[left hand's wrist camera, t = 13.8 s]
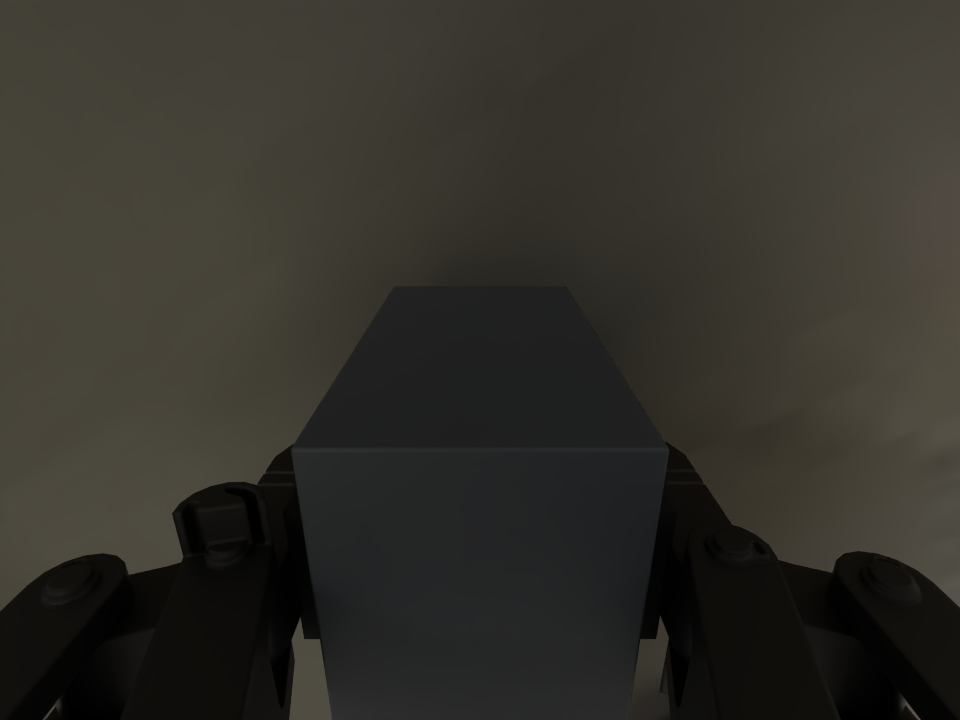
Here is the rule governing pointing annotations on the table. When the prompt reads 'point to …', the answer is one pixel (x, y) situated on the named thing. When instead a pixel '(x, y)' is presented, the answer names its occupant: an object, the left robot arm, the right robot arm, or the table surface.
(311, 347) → the table surface
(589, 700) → the bar
